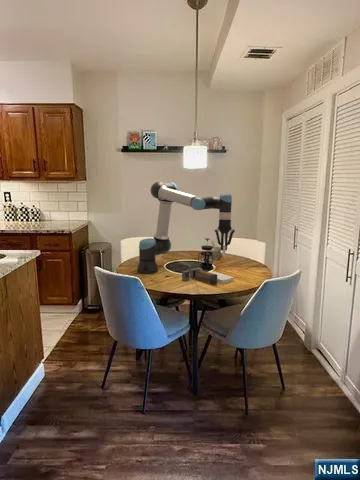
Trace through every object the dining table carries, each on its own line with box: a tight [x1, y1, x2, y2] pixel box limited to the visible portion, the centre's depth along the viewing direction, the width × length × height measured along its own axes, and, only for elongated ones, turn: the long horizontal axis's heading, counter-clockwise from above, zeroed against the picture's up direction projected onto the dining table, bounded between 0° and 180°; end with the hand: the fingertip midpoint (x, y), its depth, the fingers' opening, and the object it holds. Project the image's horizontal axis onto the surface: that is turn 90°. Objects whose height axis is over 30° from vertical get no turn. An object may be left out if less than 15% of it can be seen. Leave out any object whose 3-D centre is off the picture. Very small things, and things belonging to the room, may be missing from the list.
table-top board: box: [208, 271, 235, 285], centre depth 218 cm, size 11×19×2 cm, turn 41°
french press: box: [197, 238, 214, 271], centre depth 243 cm, size 12×9×23 cm
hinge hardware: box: [181, 266, 203, 282], centre depth 218 cm, size 16×6×7 cm, turn 131°
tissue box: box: [205, 239, 222, 261], centre depth 278 cm, size 19×10×16 cm, turn 165°
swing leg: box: [195, 269, 218, 286], centre depth 212 cm, size 4×16×6 cm, turn 41°
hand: (223, 255), depth 207 cm, fingers closed
